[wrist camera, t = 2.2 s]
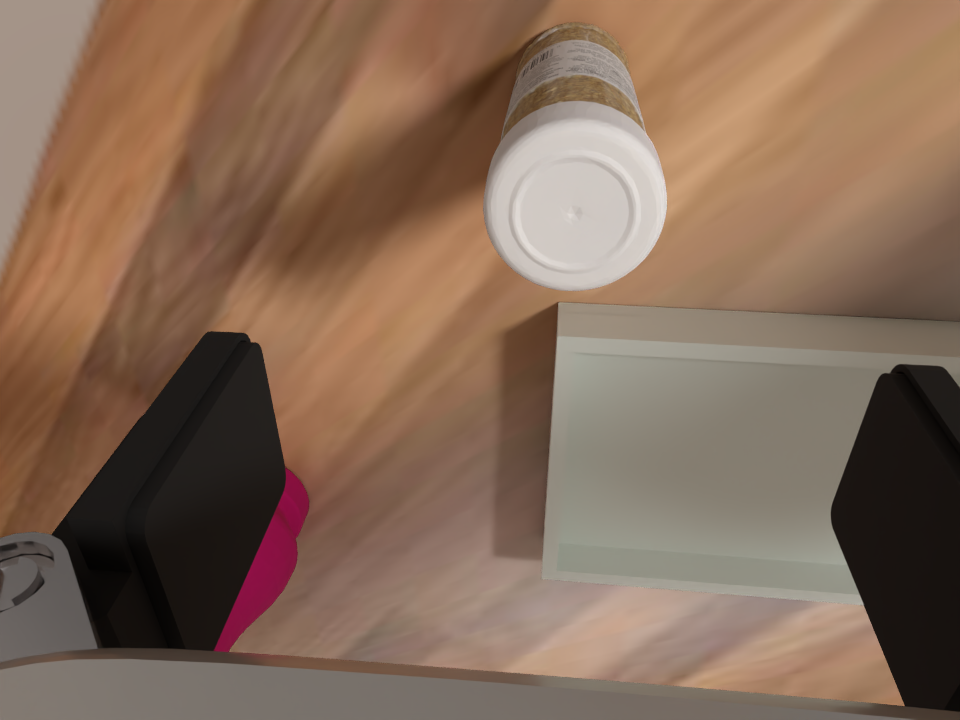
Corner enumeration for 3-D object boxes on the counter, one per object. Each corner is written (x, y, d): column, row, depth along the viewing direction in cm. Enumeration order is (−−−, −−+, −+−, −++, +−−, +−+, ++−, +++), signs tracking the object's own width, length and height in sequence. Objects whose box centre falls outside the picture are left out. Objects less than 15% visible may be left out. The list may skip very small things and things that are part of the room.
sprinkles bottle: (556, 159, 31) (547, 326, 20) (492, 66, 29) (443, 193, 18) (653, 94, 29) (704, 238, 18) (591, -10, 27) (604, 80, 16)
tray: (1008, 324, 33) (1043, 361, 31) (896, 565, 42) (916, 609, 40) (558, 302, 35) (557, 336, 32) (542, 538, 44) (541, 579, 41)
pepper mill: (299, 444, 42) (119, 828, 25) (331, 534, 45) (194, 918, 29) (180, 449, 43) (-65, 820, 26) (222, 536, 47) (31, 907, 30)
